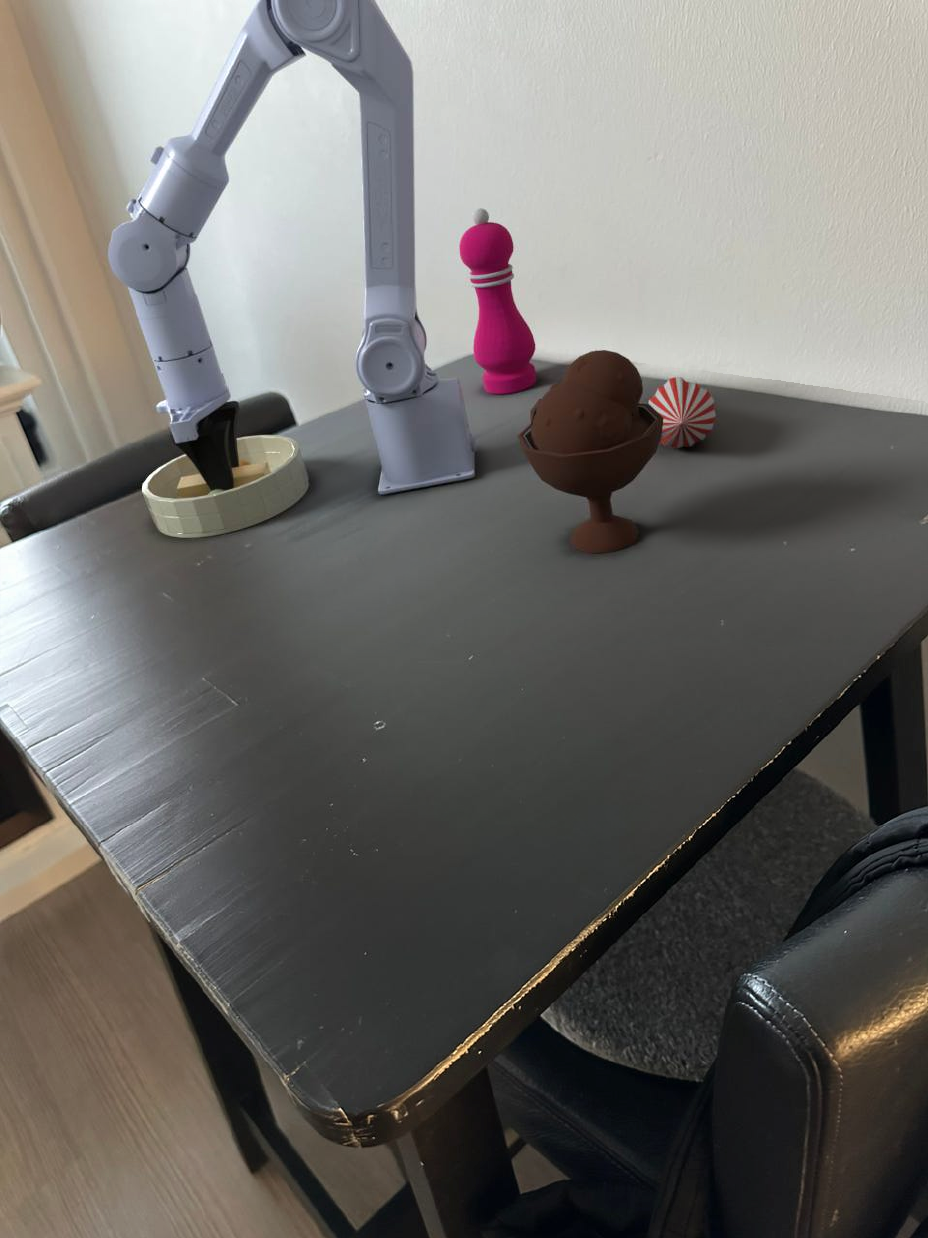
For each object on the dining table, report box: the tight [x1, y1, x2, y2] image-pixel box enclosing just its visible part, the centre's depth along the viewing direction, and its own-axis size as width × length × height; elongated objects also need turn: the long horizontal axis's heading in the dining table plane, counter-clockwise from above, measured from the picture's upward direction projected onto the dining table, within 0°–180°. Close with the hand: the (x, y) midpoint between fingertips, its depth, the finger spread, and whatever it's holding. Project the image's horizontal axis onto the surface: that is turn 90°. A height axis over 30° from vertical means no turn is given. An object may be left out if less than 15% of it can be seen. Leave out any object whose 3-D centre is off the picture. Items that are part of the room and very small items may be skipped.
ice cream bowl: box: [517, 349, 663, 554], centre depth 79 cm, size 11×11×15 cm
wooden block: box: [177, 462, 271, 498], centre depth 103 cm, size 9×2×3 cm, turn 90°
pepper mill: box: [458, 208, 538, 395], centre depth 116 cm, size 7×7×20 cm
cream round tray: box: [141, 434, 310, 539], centre depth 105 cm, size 16×16×4 cm
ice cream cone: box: [648, 376, 717, 449], centre depth 97 cm, size 6×6×20 cm
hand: (226, 484), depth 103 cm, fingers closed on wooden block, 2 cm apart
